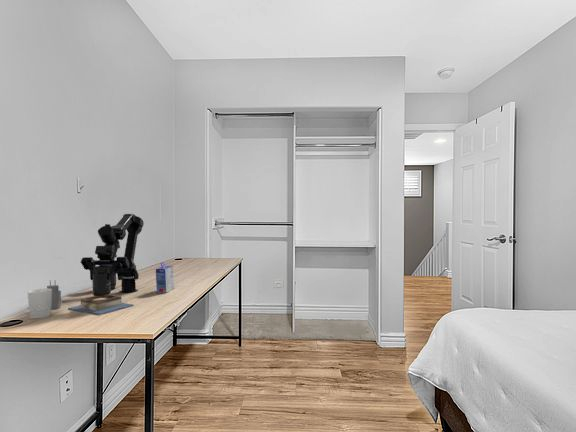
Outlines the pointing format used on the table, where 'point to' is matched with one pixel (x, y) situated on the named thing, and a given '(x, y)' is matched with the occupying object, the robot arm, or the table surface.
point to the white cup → (40, 302)
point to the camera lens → (113, 279)
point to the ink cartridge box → (164, 278)
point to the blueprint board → (78, 308)
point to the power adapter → (55, 296)
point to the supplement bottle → (101, 281)
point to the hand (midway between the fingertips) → (99, 279)
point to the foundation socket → (101, 302)
